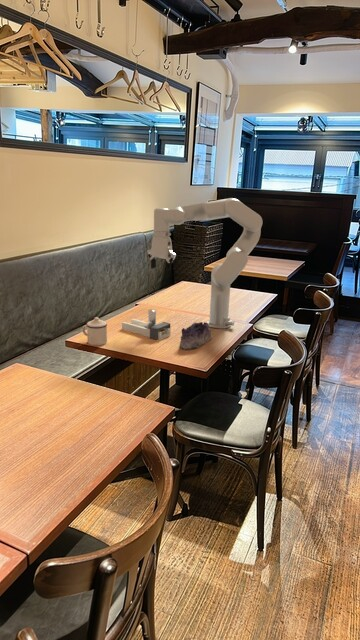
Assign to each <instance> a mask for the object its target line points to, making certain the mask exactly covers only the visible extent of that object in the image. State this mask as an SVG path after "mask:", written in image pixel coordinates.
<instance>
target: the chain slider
mask: <svg viewBox="0 0 360 640" xmlns="http://www.w3.org/2000/svg"><path fill="white" fill-rule="evenodd" d="M147 313H148V316H147V318H148V319H147V320H148V325H147V326H144V328H148V329H150V327H152V326H154V325H157V310H156V309H153V308H152V309H148V312H147ZM159 332H162V333H164V332H165V330H163V329H162V330H159Z"/></svg>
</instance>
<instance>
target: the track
mask: <svg viewBox="0 0 360 640" xmlns="http://www.w3.org/2000/svg"><path fill="white" fill-rule="evenodd" d="M147 325H148V322H147V321H143V320H141V319H140V320H139V319H136V318H131V319H130V323H129V322H125V321H122V322H121V329H122V330H124V331H126V332H131V333H133V334H136V335H137V334H138V335H141V336H145V337H148V338H149V339H151V340H154V341H158V340H159V341H161V340H164V339H165V338H168V337H170V336H171V323H170V322H164V321H163V322H160V323H158V324H157V323H156V325H154V326H152V327H150V329H148V328H144V326H147ZM162 329H163V330H165V332H164V333H162V332H159V330H162Z"/></svg>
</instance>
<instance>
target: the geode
mask: <svg viewBox="0 0 360 640" xmlns="http://www.w3.org/2000/svg"><path fill="white" fill-rule="evenodd" d="M212 333H213V332H212V330H210V327H209V325H208V323H206V322H204V323H203V322H202V321H200V322H193V323H192V324H191V325H190V326H188V327H186V328H184V327H183V328H182V329H181V336H180V341H179V348H180V349H181V350H183V351H191V350H195V349H198V348H199V347H200V346H202V345H204V344H206V343H207V342H209V341H210V340H212Z"/></svg>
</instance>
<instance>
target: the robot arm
mask: <svg viewBox="0 0 360 640" xmlns="http://www.w3.org/2000/svg"><path fill="white" fill-rule="evenodd" d="M225 218H230V219H232V221H234V222H236V223H237V224H239V226H241V227H242V228H243V230H242V233H241V235H240V237H239V238H238V239H237V241H236V242H235V243H234V244H233V246H232V247H230V249H229V250H228V251H227V253H226V256H225V260H224V261H223V262H222V263H217V264H215V266H213V268H212V270H211V273H210V274H211V275H210V277H211V278H210V281H211V282H210V283H211V284H210V304H209V320H206V322H205V323H208V325H209V327H208V328H213V329H227V328H230V327H232V326H233V327H234V325H235V321H234V320H232V319H231V317H230V316H229V312H230V311H229V310H230V295H231V294H230V293H231V284H232V283H233V282H235V280H236V279H237V278H238V276H240V274H241V272H242V271H244V269H245V268H246V267H247V264H248V259H249V257H248V256H249V255H250V253H251V252H252V251H253V250H254V248H255V247H256V246H257V244H258V242H259V240H260V238H261V232H262V231H261V229H262V226H263V218H262V216H261V215H260V214H259V213H257V212H256V211H254V210H252V209H251V208H250V207H248V206H247V205H245V204H244V203H243V202H241V201H240V200H239V199H237V198H236V197H235V198H233V197H229V198H224V199H218V200H213V201H212V200H211V201H205V202H200V203H194V204H189V205H183V206H182V205H181V206H177V207H173V208H171V209H170V208H166V207H155V209H154V210H153V237H152V238H151V239H152V240H151V248H150V249H147V250H146V253H147V256H148V258H149V260H150V268H151V269H155V268H156V267H157V258H159V259H164V260H165V261H166V267H165V270H166V272H171V271H172V266H173V265H172V264H173V262H174V260H175V259H176V257H177V254H176V253H175V252H173V244H172V239H171V237H170V236H171V235H172V233H171V232H170V225H171V224H172V225H176V226H177V225H179V226H180V225H182V224H184V222H189V221H198V220H199V221H213V220H218V219H219V220H220V219H225Z"/></svg>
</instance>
